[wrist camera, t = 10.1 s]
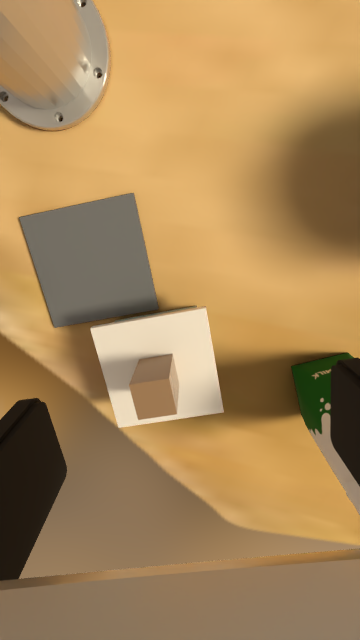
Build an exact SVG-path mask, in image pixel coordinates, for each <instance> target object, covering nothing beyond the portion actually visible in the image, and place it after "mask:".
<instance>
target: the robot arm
mask: <svg viewBox="0 0 360 640" xmlns="http://www.w3.org/2000/svg"><path fill="white" fill-rule="evenodd" d="M83 6H84V7H83ZM110 61H111V54H110V46H109V39H108V36H107V33H106V29H105V26H104V23H103V21H102V19H101V16H100V14H99V11H98V10H97V8H96V6H95V4H94V3H93V1H92V0H0V104H1V106H2V107H4V108H5V109H6V110H7V111H8V112H9V113H10V114H11V115H13V116H14V117H16V118H17V119H19V120H20V121H22V122H24V123H26V124H28V125H30V126H32V127H35V128H38V129H42V130H53V131H57V130H63V129H68V128H70V127H73V126H75V125H77V124H79V123H81V122H82V121H83V120H85V119H86V118H87V117H89V115H90V114H91V113H92V112H93V111H94V110H95V109H96V108H97V106H98V104H99V103H100V101H101V99H102V98H103V95H104V93H105V90H106V87H107V84H108V79H109V74H110ZM99 75H102V77H101V78H98V77H99ZM7 99H8V101H7ZM61 118H63V120H62V122H60V120H61ZM330 438H331V442H332V445H333V447H334V449H335V450H336V452H337V453H338V455H339V456H340V458H341V459H342V461H343V462H344V464H345V465H346V467H347V468H348V470H349V471H350V473H351V474H352V476H353V477H354V479H355V480H356V482H357V483H358V485H359V486H360V359H359V358H351V359H343V360H338V361H337V363H336V365H333V366H332V367H331V409H330ZM66 473H67V467H66V463H65V460H64V457H63V454H62V451H61V448H60V445H59V442H58V439H57V436H56V433H55V430H54V427H53V424H52V421H51V418H50V415H49V412H48V409H47V406H46V404H45V403H44V402H41V401H40V400H39V399H38V398H34V399H26V400H19V401H18V402H16V404H15V405H14V406H13V407H12V408H11V409H10V410H9V411H8V412H7V413H6V414H5V415H4V416H3V417H2V419H1V420H0V640H360V549H351V550H350V549H349V550H337V551H325V552H314V553H301V554H290V555H277V556H266V557H254V558H243V559H230V560H221V561H220V560H219V561H208V562H196V563H186V564H174V565H163V566H152V567H141V568H130V569H119V570H109V571H97V572H87V573H77V574H66V575H55V576H45V577H35V578H24V579H19V576H20V574H21V572H22V570H23V568H24V566H25V564H26V561H27V559H28V557H29V555H30V553H31V550H32V549H33V546H34V544H35V542H36V540H37V538H38V536H39V533H40V531H41V529H42V527H43V525H44V523H45V521H46V518H47V516H48V514H49V512H50V510H51V508H52V505H53V503H54V501H55V499H56V497H57V495H58V493H59V490H60V488H61V486H62V484H63V482H64V480H65V477H66Z"/></svg>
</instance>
